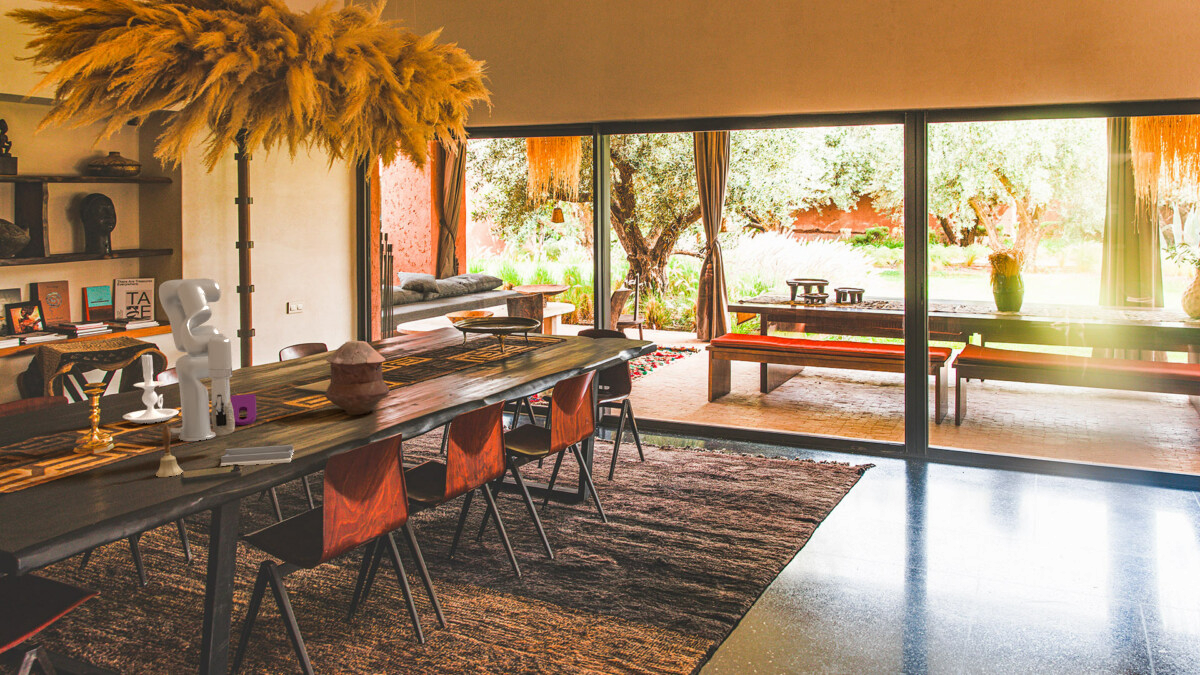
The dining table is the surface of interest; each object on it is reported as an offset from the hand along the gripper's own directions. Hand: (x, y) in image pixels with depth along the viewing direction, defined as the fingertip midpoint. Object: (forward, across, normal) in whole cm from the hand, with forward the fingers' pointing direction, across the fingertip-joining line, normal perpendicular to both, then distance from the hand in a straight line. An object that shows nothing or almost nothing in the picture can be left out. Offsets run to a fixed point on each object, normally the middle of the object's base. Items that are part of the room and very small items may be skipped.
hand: (223, 422), depth 327 cm
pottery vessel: (+12, -56, +45) cm, 72 cm away
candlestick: (+14, -63, -36) cm, 74 cm away
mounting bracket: (+13, -51, 0) cm, 53 cm away
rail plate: (+10, +13, +13) cm, 21 cm away
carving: (+4, 0, 0) cm, 4 cm away
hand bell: (+10, +24, -13) cm, 30 cm away
